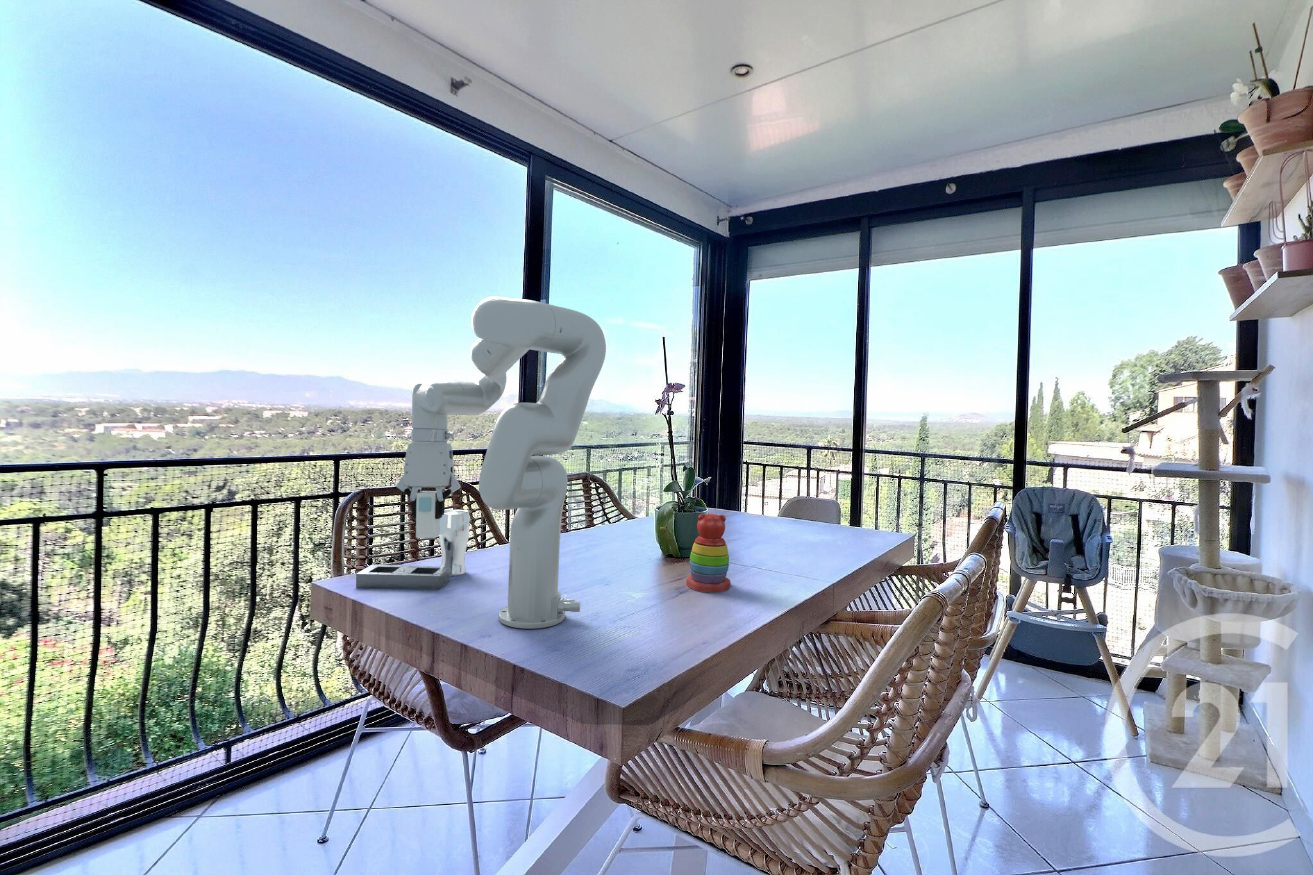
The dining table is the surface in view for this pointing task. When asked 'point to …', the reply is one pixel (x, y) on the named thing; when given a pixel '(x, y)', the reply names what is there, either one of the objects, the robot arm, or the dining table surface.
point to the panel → (403, 577)
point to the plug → (426, 515)
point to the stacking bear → (709, 556)
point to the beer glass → (454, 540)
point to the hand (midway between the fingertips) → (428, 517)
